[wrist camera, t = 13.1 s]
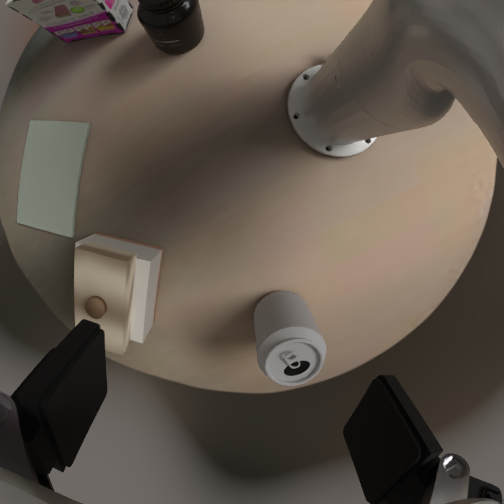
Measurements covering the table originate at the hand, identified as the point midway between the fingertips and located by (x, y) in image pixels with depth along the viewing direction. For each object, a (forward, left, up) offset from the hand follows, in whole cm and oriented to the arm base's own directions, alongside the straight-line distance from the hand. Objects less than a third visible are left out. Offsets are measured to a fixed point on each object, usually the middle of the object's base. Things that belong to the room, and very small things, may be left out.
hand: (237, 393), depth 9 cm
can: (+10, +8, -28) cm, 31 cm away
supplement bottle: (-24, -14, -28) cm, 40 cm away
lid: (+10, -14, -22) cm, 28 cm away
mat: (-2, -29, -28) cm, 40 cm away
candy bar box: (-26, -28, -28) cm, 48 cm away
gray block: (+10, -14, -28) cm, 33 cm away
